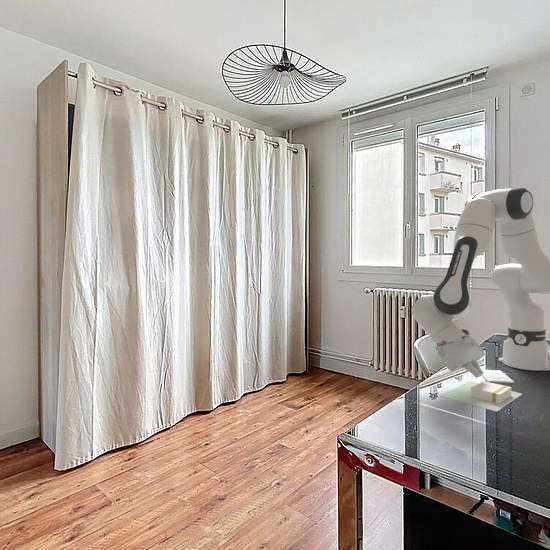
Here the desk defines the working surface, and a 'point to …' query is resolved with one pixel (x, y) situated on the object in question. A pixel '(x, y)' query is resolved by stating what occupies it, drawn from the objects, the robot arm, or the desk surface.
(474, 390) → the card box
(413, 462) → the desk surface
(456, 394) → the mat
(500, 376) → the external hard drive
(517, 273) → the robot arm
